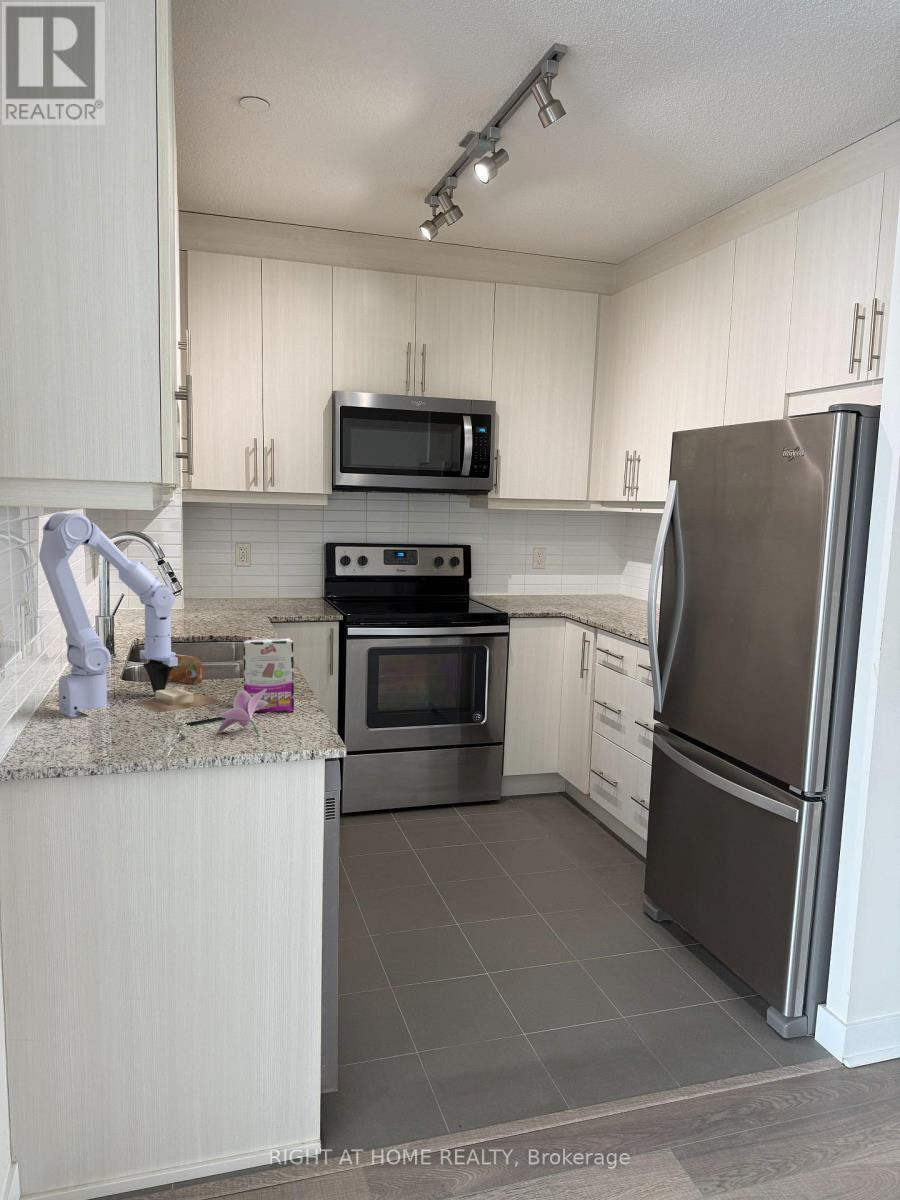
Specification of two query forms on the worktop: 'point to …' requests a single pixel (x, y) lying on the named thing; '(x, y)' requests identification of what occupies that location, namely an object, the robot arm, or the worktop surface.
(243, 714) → the lily
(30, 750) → the worktop surface
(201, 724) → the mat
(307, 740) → the worktop surface
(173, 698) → the cream flat block
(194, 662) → the orange green food package
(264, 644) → the candy bar box
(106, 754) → the worktop surface
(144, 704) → the board
